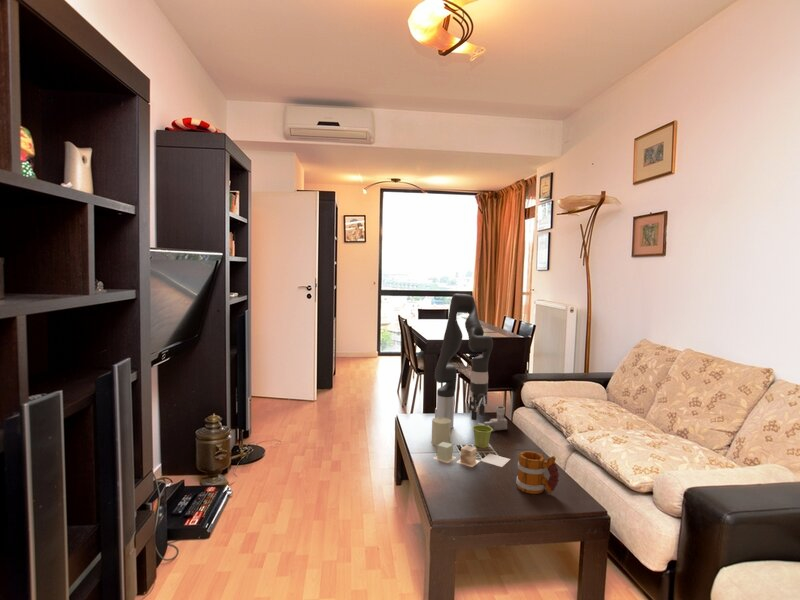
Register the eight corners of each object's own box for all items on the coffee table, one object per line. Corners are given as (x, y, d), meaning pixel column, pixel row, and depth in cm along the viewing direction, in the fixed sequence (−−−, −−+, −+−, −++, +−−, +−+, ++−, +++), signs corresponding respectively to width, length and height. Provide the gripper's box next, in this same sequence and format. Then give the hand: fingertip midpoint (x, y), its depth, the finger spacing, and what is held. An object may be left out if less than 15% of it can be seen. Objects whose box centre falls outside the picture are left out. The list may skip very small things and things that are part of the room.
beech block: (460, 461, 195) (460, 448, 194) (465, 458, 199) (466, 445, 198) (470, 465, 192) (471, 451, 191) (475, 461, 196) (476, 447, 196)
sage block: (437, 458, 198) (437, 445, 197) (442, 454, 202) (443, 441, 202) (447, 461, 195) (447, 447, 195) (452, 457, 199) (452, 444, 199)
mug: (522, 478, 182) (523, 442, 181) (562, 491, 171) (564, 453, 170) (510, 487, 173) (512, 450, 172) (552, 502, 163) (554, 462, 162)
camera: (510, 409, 234) (483, 411, 231) (509, 431, 235) (483, 433, 232) (502, 404, 243) (476, 406, 239) (501, 425, 244) (476, 427, 240)
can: (446, 439, 221) (447, 415, 220) (453, 446, 212) (454, 421, 212) (428, 440, 219) (429, 416, 218) (434, 447, 210) (435, 423, 209)
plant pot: (490, 442, 218) (491, 425, 218) (492, 450, 209) (493, 432, 209) (471, 441, 219) (472, 424, 219) (472, 449, 210) (473, 431, 209)
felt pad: (480, 461, 196) (480, 460, 196) (489, 454, 205) (489, 453, 204) (501, 467, 191) (501, 466, 191) (510, 460, 199) (510, 459, 199)
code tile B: (432, 459, 197) (432, 458, 197) (441, 453, 204) (441, 452, 204) (448, 463, 193) (448, 463, 193) (456, 457, 200) (456, 457, 200)
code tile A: (455, 462, 194) (455, 462, 194) (463, 456, 201) (463, 456, 201) (472, 467, 190) (472, 467, 190) (480, 461, 196) (480, 460, 196)
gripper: (477, 376, 203) (476, 411, 204) (464, 382, 191) (463, 419, 192) (493, 379, 199) (492, 415, 200) (480, 385, 187) (479, 423, 188)
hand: (478, 417), depth 196 cm, fingers open, 8 cm apart
